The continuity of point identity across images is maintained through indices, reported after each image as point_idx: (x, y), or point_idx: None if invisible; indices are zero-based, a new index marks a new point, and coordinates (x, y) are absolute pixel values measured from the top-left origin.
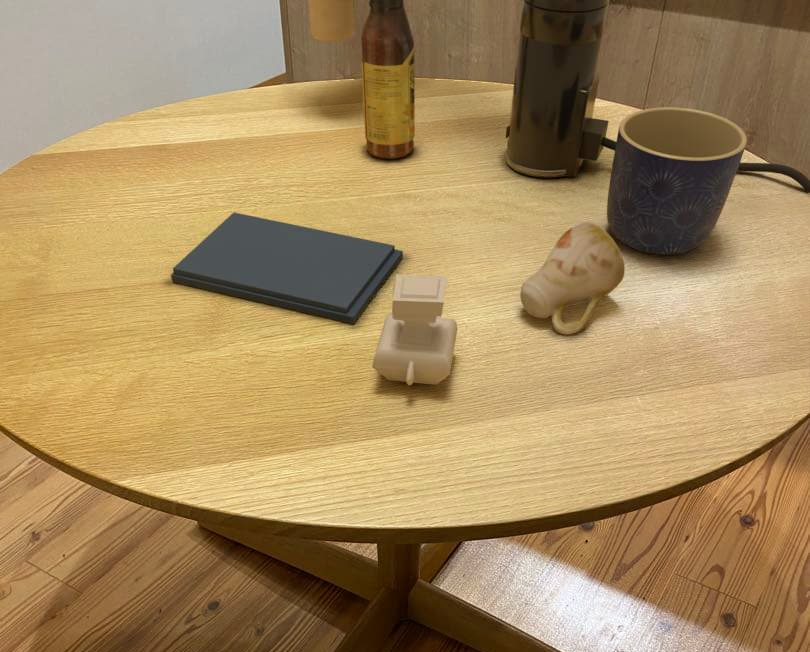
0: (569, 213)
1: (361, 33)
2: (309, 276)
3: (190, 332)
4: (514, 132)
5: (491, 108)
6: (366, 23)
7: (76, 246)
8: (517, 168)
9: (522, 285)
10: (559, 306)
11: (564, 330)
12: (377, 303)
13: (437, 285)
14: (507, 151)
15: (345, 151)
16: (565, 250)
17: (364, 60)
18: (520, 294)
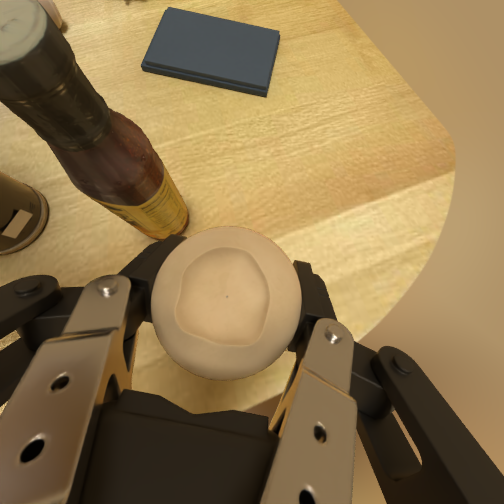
0: (6, 134)
1: (148, 147)
2: (195, 29)
3: (252, 7)
4: (10, 182)
5: None
6: (129, 121)
7: (352, 66)
8: (37, 191)
9: (52, 4)
10: None
11: None
12: (155, 31)
13: None
14: (39, 210)
15: (209, 212)
16: None
17: (156, 154)
18: (58, 11)
